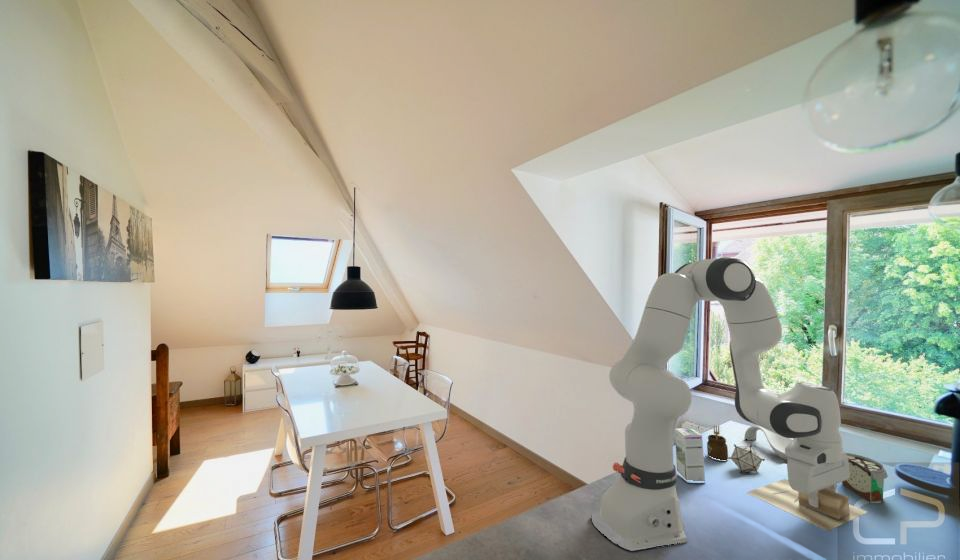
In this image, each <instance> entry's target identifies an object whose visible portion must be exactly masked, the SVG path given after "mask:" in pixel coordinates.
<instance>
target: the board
mask: <svg viewBox="0 0 960 560" xmlns="http://www.w3.org/2000/svg"><path fill="white" fill-rule="evenodd" d="M746 494H748V495H750V496H752V497H755V498H757V499H759V500H760V501H763V502H765V503H767V504H769V505H772V506H774V507H776V508H777V509H780V510H782V511H784V512H787V513H789V514H791V515H792V516H795V517H797V518H800V519H801V520H804V521H805V522H807V523H809V524H812V525H814V526H816V527H818V528H820V529H823V530H824V531H827V532H829V531H832V530H834V529H836V528H837V527H839V526H842V525H843V524H846V523H849V522H851V521H853V520H855V519H857V518H859V517H861V516H863V515H866V514H867V513H869V511H867V510H864V509H862V508H859V507H857V506H854V505H851V504H850V503H849V512H850V516H848V517H846V518H844V519H842V520H840V521H837V520H835V519H833V518H830V517H828V516H826V515H824V514H821V513H819V512H817V511H814V510H812V509H810V508H808V507H805V506H803V505H801V504H799V496H798V492H797V491H795V490H793V489H792V488H791V487H790V485H789V481H788V478H787V479H786V478H783V479H780V480H778V481H775V482H772V483H769V484H766V485H763V486H760V487H757V488H755V489H752V490H750V491H746Z"/></svg>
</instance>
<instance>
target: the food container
mask: <svg viewBox="0 0 960 560" xmlns="http://www.w3.org/2000/svg"><path fill="white" fill-rule="evenodd" d="M845 453H846V454H847V457H848V462H849V468H850V477H849V479H848V480H845V481H842V482H841V484H842V486H844V487H846V488H847V489H849V490H850V491H852V492H853V493H855V494H856V495H858V496H860V497H861V498H862V499H864V500H866V501H867V502H869V503H870V504H881V503H882V502H883V501H884V488H885V487H884V485H885V483H884V481H885V479H887V478H888V477H889V476H888V473H887V470H886V468H885V467H884V465H883V464H882V463H880V462H878V460H874V459H872V458H869V457H865V456H863V455H859V454H855V453H851V452H845Z"/></svg>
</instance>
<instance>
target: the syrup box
mask: <svg viewBox="0 0 960 560" xmlns="http://www.w3.org/2000/svg"><path fill="white" fill-rule="evenodd" d="M674 439H675V442H674V443H675V456H676V457H675V459H676V472H677V471H678V472H679V473H680V474H681V475H682V476H683V477H684V478H685V479H686V480H693V481H705V482H706V478H705V476H706V475H705V460H704V444H703V434H701V433H700V432H699V431H697V430H695V429H694V428H692V427H691V428H690V427H681V428H680V427H678V428H674Z"/></svg>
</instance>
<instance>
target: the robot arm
mask: <svg viewBox="0 0 960 560" xmlns="http://www.w3.org/2000/svg"><path fill="white" fill-rule="evenodd" d="M699 301H707V302H718V303H719V304H720V305H721V306H722V309H723V311H724V316H725V320H726V323H727V327H728V331H729V337H730V340H729V353H730V354H729V355H730V360H731V366H732V371H733V377H734V382H735V394H734V395H735V396H734V408H735V410H736V412H737V414H738V415H739V417H741V418H742V420H744V421H746V422H749V423H751V424H754V425H755V426H761V427H763V428H765V429H767V430H769V431H771V432H773V433H775V434H777V435H780V436H782V437H786V438H790V439H792V442H791V443H790V444H789V445H788V446H787V447H786V448H785V454H786V456H789V458H788V461H786V462H787V463H786V465H787V466H786V469H787V470H786V471H787V480H788V481H789V485H790V487H791V488H792V489H793V490H795V491H797V492H800V493H802V494H805V495H807V496H808V499H809V504H810V505H811V506H813V507H816V508H817V507H819V506H821V504H820V503H821V502H820V499H818V497H817V494H818V491H819V490H822V489H825V488H826V489H828V490H831V491H834V492H836V493H837V489H838V484H840V483H842V481H845V480H848V479H849V477H850V468H849V462H848V457H847V454H846V453H847V452H845V451H844V448H843V447H844V446H843V438H842V435H841V432H840V427H841V423H842V421H841V420H842V418H841V410H840V403H839V400H838V399H839V398H838V397H837V395H836V393H835V392H834V391H833V390H832V389H831V388H829V387H826V386H823V385H819V384H814V383H811V382H804V381H801V382H796V383H795V385H794V387H792V388H791V389H789V390H787V391H785V392H783V393H781V394H775V393H772V392H770V391H769V390H768V389H767V388H766V387H765V386H764V384H763V382H762V375H761V369H760V364H759V356H760V355H761V353H764V352H767V351H770V350H772V349H773V348H774V347H776V346H777V345H778V344H779V342H780V341H781V339H782V337H783V335H782V334H783V329H782V325H781V321H780V318H779V314H778V311H777V308H776V305H775V303H774V301H773V298H772V297H771V294H770V293H769V289H768V288H767V287H766V285H765V283H764V282H763V281H762V280H761V279H759V278H757V277H755V274H754V272H753V270H752V267H750V265H748V264H747V262H745V261H744V260H742V259H741V258H737V257H731V256H723V257H719V258H711V259H710V258H704V259H700V260H696V261H694V262H688V263H685V264H683V265H682V266H680V267H679V268H677V269H676V270H675V271H674V272H668V273H663V274H662V275H660V276H659V277H658V278H657V279H656V281H655V282H654V284H653V286H652V288H651V290H650V293H649V295H648V297H647V300H646V303H645V306H644V310H643V311H642V315H641V319H640V321H639V325H638V328H637V331H636V334H635V335H634V338H633V341H632V342H631V344H630V345H629V347H628V348H627V350H626V351H625V353H624V355H623V357H621V359H620V360H618V361H617V362H615V363H614V364H613V365H612V367H611V369H610V370H609V382H610V385H611V386H612V387H613V389H614V390H615V391H616V392H617V394H618V395H620V397H622V398H624V399H625V400H627V401H629V402H630V403H632V404H633V414H632V415H633V416H632V418H631V422H630V423H628V424H627V425H626V427H625V428H624V444H625V445H624V446H625V447H624V448H625V457H624V460H623V463H622V464H620V463H619V462H614V463H613V464H612V470H613V471H614V472H617V474H620V476H619V477H618V478H617V479H616V480H615V481H614V482H613V484H612V485H611V486H609V488H608V489H607V490H605V492H604V493H603V494H602V496H601V499H600V506H599V507H600V508H599V509H600V516H601V518H602V519H603V521H604V522H605V523H606V524H607V525H608V526H609V527H610V528H611V529H612V530H613V531H615V532H616V533H617V534H619V535H620V536H621V537H622V538H624V539H626V540H627V541H629V543H628V544H627V545H628V547H629V548H642V547H649V546H658V545H660V546H661V545H668V546H672V545H671V544H674V545H678V544H679V543H680V544H685V543H686V542H687V540H688V539H687V535H686V533H685V531H684V530H685V524H684V521H683V519H682V513H681V508H680V507H681V506H680V501H679V497H678V493H677V489H676V483H677V476H678V474H677V467H676V465H675V463H674V434H675V429H676V425H677V422H678V420H679V418H680V417H682V416H683V415H685V414H686V412H688V410H689V409H690V407H691V404H692V401H693V400H692V399H693V398H692V397H693V396H692V391H691V389H690V386H689V385H688V383H687V382H686V381H684V379H682V378H681V377H680V376H678V375H676V374H675V373H674V372H672V371H670V370H668V369H664V368H665V367H666V364H668V362H669V361H670V359H672V357H673V356H675V355H677V354H678V353H680V351H682V349H683V348H684V345H685V342H686V341H685V340H686V337H687V334H688V330H689V327H690V324H691V319H692V317H693V312H694V308H695V306H696V305H697V303H698V302H699ZM677 543H678V544H677ZM669 544H670V545H669Z"/></svg>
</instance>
